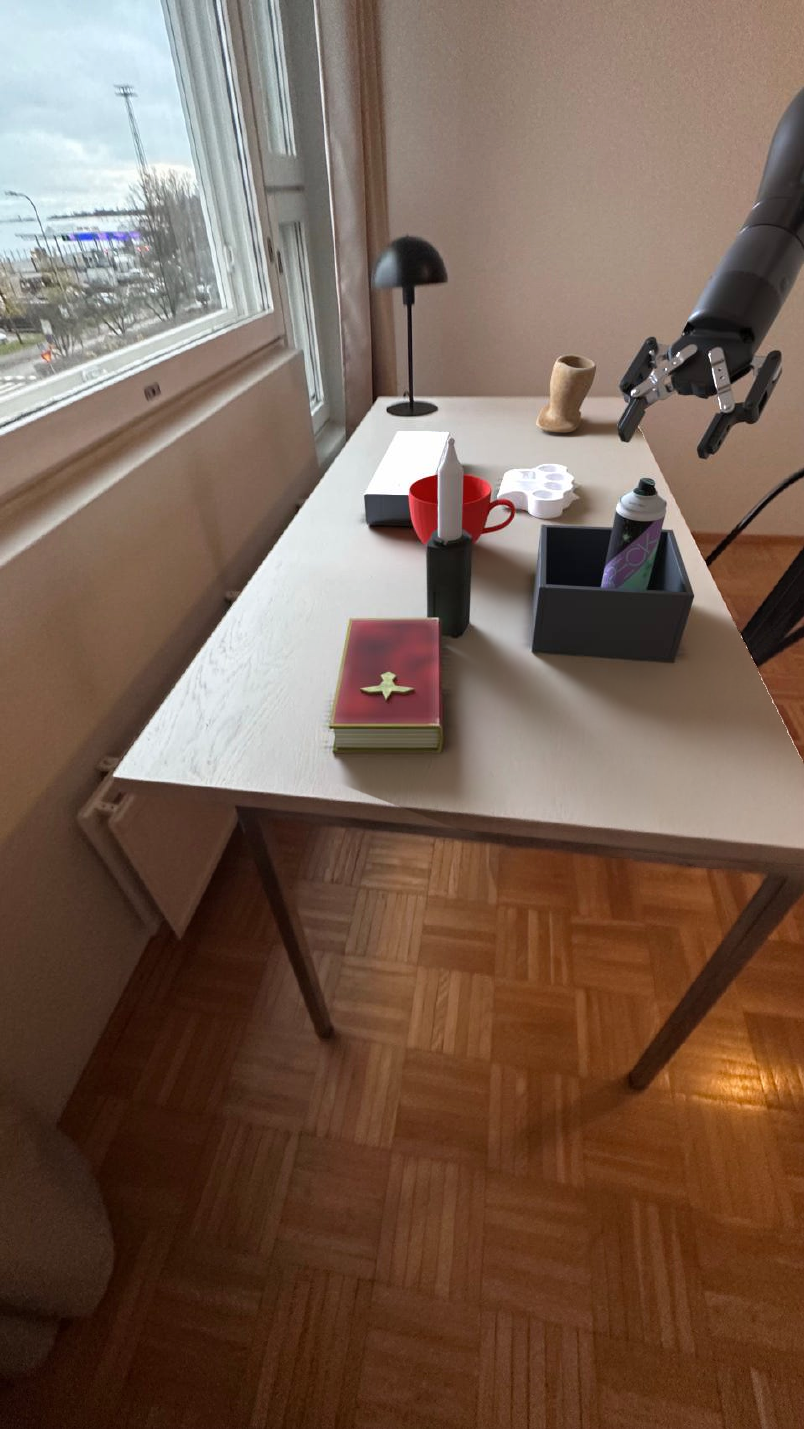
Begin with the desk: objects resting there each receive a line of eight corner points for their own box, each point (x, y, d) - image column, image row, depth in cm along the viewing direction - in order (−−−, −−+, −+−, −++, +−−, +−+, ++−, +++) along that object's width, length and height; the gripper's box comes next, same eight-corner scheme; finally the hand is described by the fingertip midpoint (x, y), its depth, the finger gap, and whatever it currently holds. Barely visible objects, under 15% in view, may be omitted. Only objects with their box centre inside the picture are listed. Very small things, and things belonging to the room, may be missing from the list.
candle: (424, 633, 86) (421, 443, 70) (437, 613, 90) (437, 429, 73) (460, 639, 84) (465, 447, 68) (471, 620, 88) (479, 432, 72)
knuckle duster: (506, 478, 127) (580, 482, 124) (494, 515, 114) (577, 520, 111) (507, 461, 125) (583, 465, 122) (495, 497, 112) (580, 502, 109)
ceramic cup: (504, 573, 98) (509, 511, 91) (400, 561, 102) (397, 501, 95) (518, 537, 107) (523, 478, 100) (422, 527, 111) (421, 470, 105)
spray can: (589, 619, 86) (617, 472, 73) (630, 618, 86) (665, 470, 73) (597, 642, 82) (628, 490, 69) (640, 641, 82) (679, 489, 68)
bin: (657, 591, 92) (673, 529, 86) (674, 663, 79) (694, 595, 73) (534, 585, 95) (541, 524, 88) (531, 652, 82) (539, 587, 75)
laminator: (428, 530, 110) (428, 496, 106) (360, 528, 112) (357, 493, 108) (449, 462, 135) (450, 431, 131) (393, 460, 137) (392, 430, 133)
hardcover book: (441, 642, 84) (441, 615, 81) (442, 753, 68) (443, 724, 66) (352, 643, 85) (349, 616, 82) (333, 752, 69) (328, 724, 66)
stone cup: (584, 438, 144) (594, 364, 134) (531, 435, 147) (538, 362, 137) (590, 418, 154) (601, 349, 144) (541, 415, 157) (549, 347, 148)
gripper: (819, 330, 62) (733, 481, 63) (681, 318, 70) (607, 452, 71) (821, 270, 56) (725, 439, 57) (669, 264, 64) (588, 412, 65)
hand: (660, 446), depth 64 cm, fingers open, 8 cm apart
